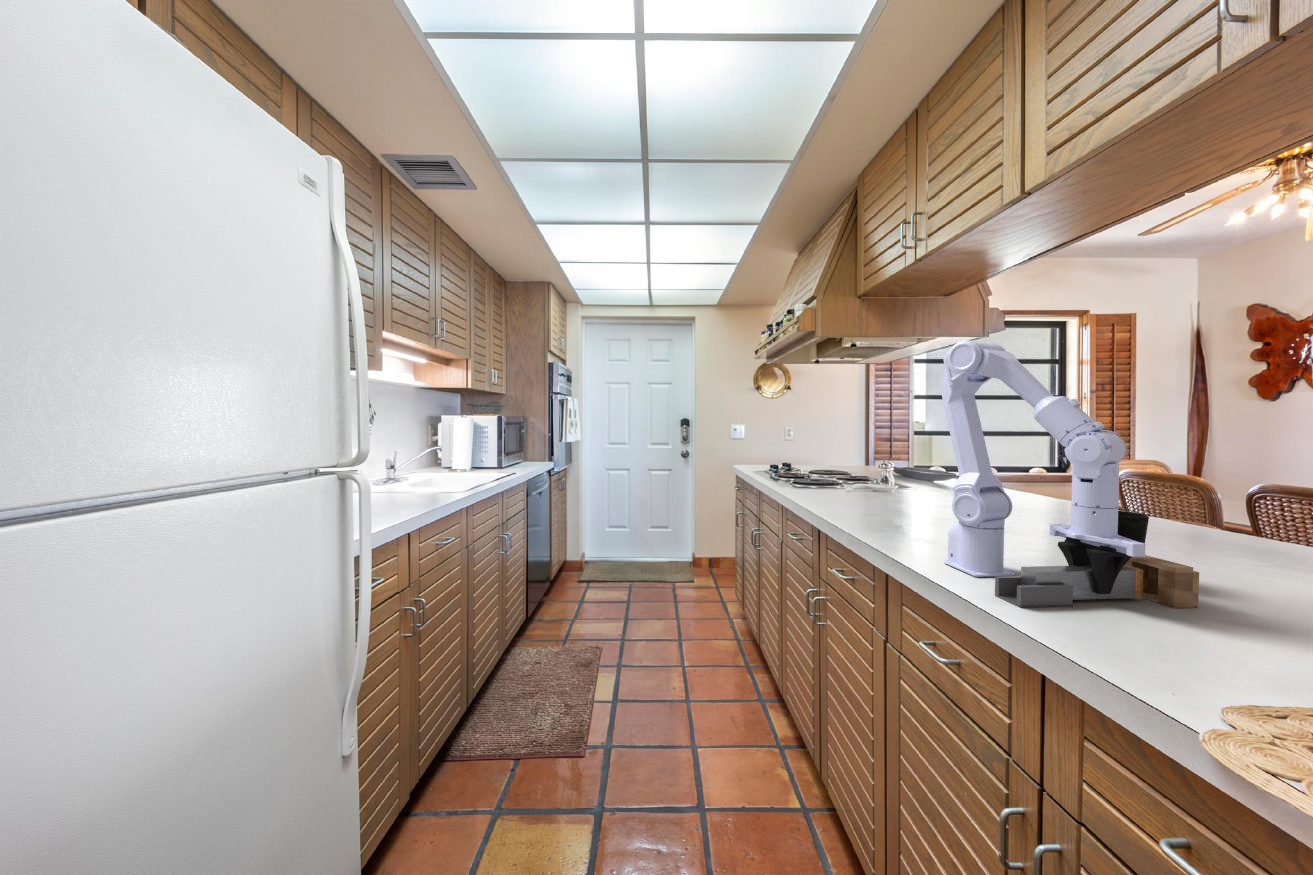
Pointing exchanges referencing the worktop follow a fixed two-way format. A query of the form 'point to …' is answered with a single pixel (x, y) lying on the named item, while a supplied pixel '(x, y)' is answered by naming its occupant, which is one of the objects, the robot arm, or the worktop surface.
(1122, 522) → the cup
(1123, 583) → the bar
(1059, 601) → the grey u-shaped channel
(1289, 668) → the worktop surface
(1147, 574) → the socket
